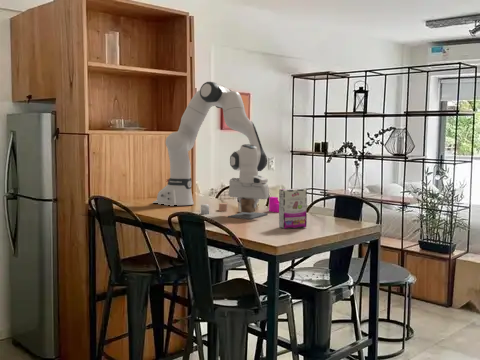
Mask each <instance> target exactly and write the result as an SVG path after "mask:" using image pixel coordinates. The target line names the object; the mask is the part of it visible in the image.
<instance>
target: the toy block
mask: <svg viewBox="0 0 480 360" xmlns="http://www.w3.org/2000/svg"><path fill="white" fill-rule="evenodd" d="M268 211H269V212H273V213H278V214H279V196H278V197H276V196H269V197H268Z"/></svg>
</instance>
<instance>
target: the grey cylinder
mask: <svg viewBox="0 0 480 360" xmlns="http://www.w3.org/2000/svg"><path fill="white" fill-rule="evenodd" d="M200 214H201V215H210V204H207V203H205V204H203V203H202V204H200Z"/></svg>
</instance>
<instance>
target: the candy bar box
mask: <svg viewBox="0 0 480 360" xmlns="http://www.w3.org/2000/svg"><path fill="white" fill-rule="evenodd" d="M278 190H279V191H278V201H279V212H278V227H279V228H280V229H284V230H286V229H287V230H288V229H289V230H290V229H299V228H300V229H301V228H307V216H308V215H307V214H308V213H307V211H308V210H307V205H308V201H307V200H308V199H307V196H308V194H307V188H303V187H302V188H284V189H283V188H282V189H278Z"/></svg>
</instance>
